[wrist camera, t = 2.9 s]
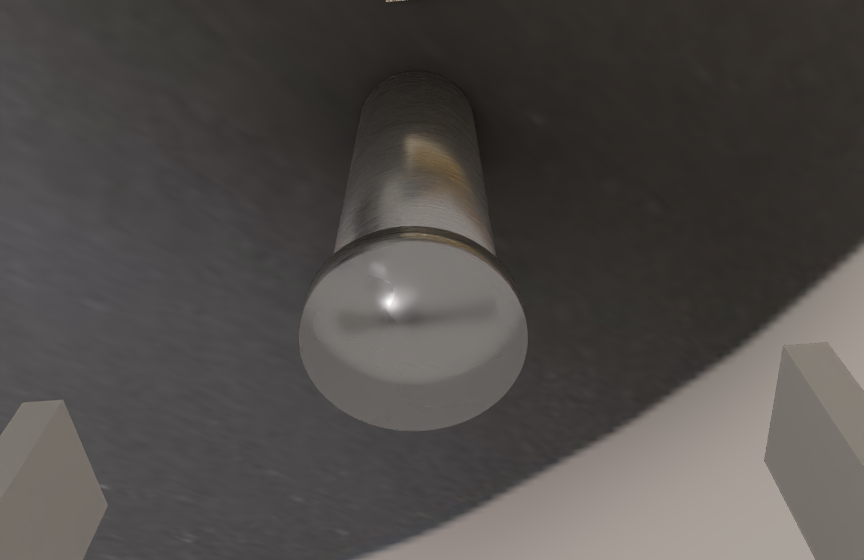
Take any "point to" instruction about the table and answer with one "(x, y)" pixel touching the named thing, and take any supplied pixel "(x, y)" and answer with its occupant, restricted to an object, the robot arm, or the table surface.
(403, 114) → the pin
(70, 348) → the table surface
